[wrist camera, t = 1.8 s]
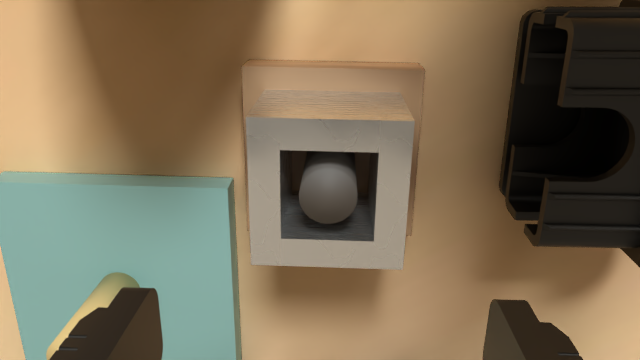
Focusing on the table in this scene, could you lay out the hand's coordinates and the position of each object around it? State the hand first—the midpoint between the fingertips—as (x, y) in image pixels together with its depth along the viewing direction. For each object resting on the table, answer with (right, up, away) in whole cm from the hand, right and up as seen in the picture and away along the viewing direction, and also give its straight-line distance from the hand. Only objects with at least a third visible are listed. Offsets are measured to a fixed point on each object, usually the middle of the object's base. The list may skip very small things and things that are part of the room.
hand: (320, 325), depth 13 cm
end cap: (+13, +7, +13) cm, 19 cm away
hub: (-11, -2, +17) cm, 20 cm away
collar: (0, +5, +12) cm, 13 cm away
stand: (+1, +5, +14) cm, 15 cm away
